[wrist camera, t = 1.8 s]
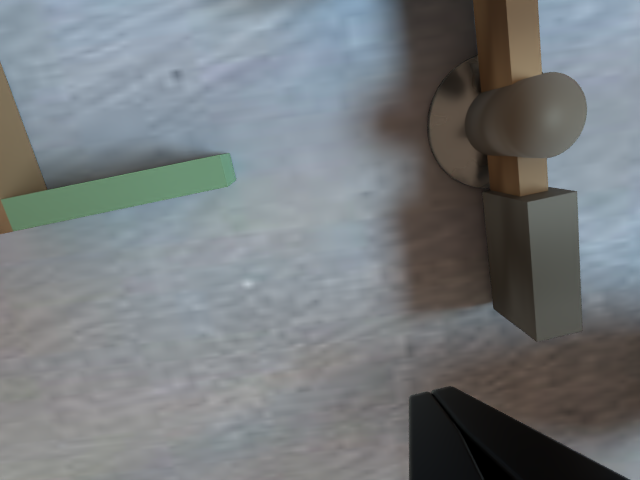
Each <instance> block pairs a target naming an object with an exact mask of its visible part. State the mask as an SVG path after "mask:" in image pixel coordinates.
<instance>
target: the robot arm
mask: <svg viewBox="0 0 640 480" xmlns="http://www.w3.org/2000/svg"><path fill="white" fill-rule="evenodd" d="M409 480H630V479H628V478H626V477H624V476H622V475H620V474H618V473H616V472H614V471H612V470H611V469H609V468H607V467H605V466H603V465H601V464H599V463H597V462H595V461H593V460H592V459H590V458H588V457H586V456H584V455H582V454H580V453H578V452H576V451H574V450H572V449H571V448H569V447H567V446H565V445H563V444H561V443H559V442H557V441H555V440H553V439H552V438H550V437H548V436H546V435H544V434H542V433H540V432H538V431H536V430H534V429H532V428H531V427H529V426H527V425H525V424H523V423H521V422H519V421H517V420H515V419H513V418H512V417H510V416H508V415H506V414H504V413H502V412H500V411H498V410H496V409H494V408H492V407H491V406H489V405H487V404H485V403H483V402H481V401H479V400H477V399H475V398H473V397H472V396H470V395H468V394H466V393H464V392H462V391H460V390H458V389H456V388H454V387H451V386H448V387H444V388H440V389H436V390H433V391H432V392H431V393H430V392H423V393H419V394H415V395H411V396H410V397H409Z"/></svg>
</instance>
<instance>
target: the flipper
mask: <svg viewBox="0 0 640 480" xmlns="http://www.w3.org/2000/svg"><path fill="white" fill-rule="evenodd" d="M473 7H474V18H475V29H476V40H477V50H478V61H479V72H480V83H481V93H480V94H479V95H478V96H477V97H476V98H475V99H474V100H473V102H472V103H471V105H470V106H469V109H468V111H467V114H466V118H465V131H466V135H467V138H468V140H469V142H470V144H471V145H472V146H473V147H474V148H475V149H476V150H477V151H478V152H480V153H482V154H484V155H487V159H488V170H489V181H490V190H489V191H484V192H482V195H483V206H484V216H485V226H486V236H487V247H488V257H489V267H490V278H491V288H492V298H493V308H494V309H495V310H496V311H497V312H498V313H500V314H501V315H502V316H504V317H505V318H506V319H508V320H509V321H510V322H512V323H513V324H514V325H516V326H517V327H518V328H519V329H521V330H522V331H523V332H525V333H526V334H527V335H529V336H530V337H531V338H533V339H534V340H535V341H536V342H539V341H543V340H547V339H552V338H556V337H560V336H564V335H569V334H573V333H577V332H581V331H582V311H581V285H580V258H579V232H578V206H577V191H571V190H564V189H558V188H551V187H548V176H547V158H550V157H554V156H557V155H559V154H561V153H563V152H564V151H566V150H567V149H568V148H570V147H571V146H572V145H573V144H574V142H575V141H576V140H577V139H578V137H579V136H580V134H581V132H582V130H583V127H584V124H585V121H586V115H587V105H586V99H585V96H584V93H583V91H582V89H581V87H580V86H579V85H578V83H577V82H576V81H575V80H573V79H572V78H571V77H569V76H567V75H565V74H562V73H557V72H549V73H544V74H542V68H541V50H540V32H539V14H538V0H473Z"/></svg>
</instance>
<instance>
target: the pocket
mask: <svg viewBox="0 0 640 480" xmlns="http://www.w3.org/2000/svg"><path fill="white" fill-rule="evenodd" d="M234 181H236V177H235V173H234V169H233V165H232V161H231V157H230V153H229V154H222V155H216V156H211V157H206V158H201V159H196V160H192V161H187V162H182V163H177V164H172V165H167V166H162V167H157V168H152V169H148V170H143V171H138V172H133V173H128V174H123V175H118V176H113V177H108V178H104V179H99V180H94V181H89V182H84V183H79V184H74V185H69V186H64V187H60V188H55V189H50V190H47V187H46V185H45V182H44V179H43V177H42V174H41V171H40V168H39V166H38V163H37V160H36V158H35V155H34V152H33V149H32V147H31V144H30V141H29V139H28V136H27V133H26V131H25V128H24V125H23V122H22V120H21V117H20V114H19V112H18V109H17V106H16V103H15V101H14V98H13V95H12V93H11V90H10V87H9V84H8V82H7V79H6V76H5V74H4V71H3V68H2V65H1V63H0V234H3V233H8V232H13V231H17V230H22V229H27V228H32V227H37V226H41V225H46V224H51V223H56V222H61V221H65V220H70V219H75V218H80V217H84V216H89V215H94V214H99V213H104V212H108V211H113V210H118V209H123V208H128V207H132V206H137V205H142V204H147V203H152V202H156V201H161V200H166V199H171V198H176V197H180V196H185V195H190V194H195V193H200V192H204V191H209V190H214V189H219V188H224V187H228V186H229V185H230V184H232V183H233V182H234Z"/></svg>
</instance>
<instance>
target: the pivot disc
mask: <svg viewBox="0 0 640 480" xmlns="http://www.w3.org/2000/svg"><path fill="white" fill-rule="evenodd" d="M542 74H543V72H542ZM480 93H481V83H480V72H479V61H478V55H477V56H475V57H473V58H470V59H468V60H466V61H465V62H463V63H461V64H460V65H458V66H457V67H456V68H455V69H453V70H452V71H451V72H450V73H449V74H448V75H447V76H446V78H445V79H444V80H443V82H442V83H441V84H440V86H439V88H438V89H437V91H436V93H435V95H434V97H433V100H432V103H431V106H430V109H429V115H428V126H427V128H428V138H429V144H430V147H431V150H432V153H433V155H434V157H435V159H436V161H437V162H438V164H439V165H440V167H441V168H442V169H443V170H444V171H445V172H446V173H447V174H448V175H449V176H451V177H452V178H453V179H455V180H457V181H458V182H461V183H463V184H465V185H469V186H472V187H478V188H490V181H489V170H488V159H487V155H484V154H482V153H480V152H478V151H477V150H476V149H475V148H474V147H473V146H472V145H471V144H470V142H469V140H468V138H467V135H466V131H465V118H466V114H467V111H468V109H469V106H470V105H471V103H472V102H473V100H474V99H475V98H476V97H477V96H478V95H479V94H480Z"/></svg>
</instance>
